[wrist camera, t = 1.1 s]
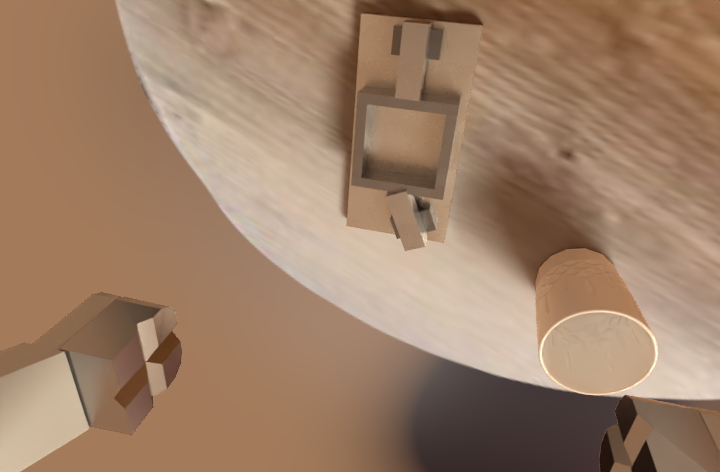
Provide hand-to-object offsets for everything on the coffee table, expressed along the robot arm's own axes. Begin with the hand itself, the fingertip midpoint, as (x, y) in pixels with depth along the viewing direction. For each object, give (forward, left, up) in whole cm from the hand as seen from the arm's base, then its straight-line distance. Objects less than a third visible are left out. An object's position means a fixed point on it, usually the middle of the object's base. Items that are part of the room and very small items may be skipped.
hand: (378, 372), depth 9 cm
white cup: (+17, +13, -34) cm, 40 cm away
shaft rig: (+6, -3, -34) cm, 34 cm away
